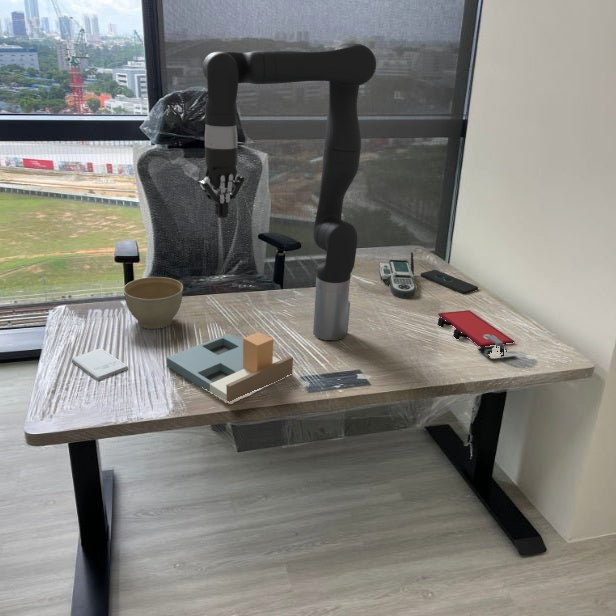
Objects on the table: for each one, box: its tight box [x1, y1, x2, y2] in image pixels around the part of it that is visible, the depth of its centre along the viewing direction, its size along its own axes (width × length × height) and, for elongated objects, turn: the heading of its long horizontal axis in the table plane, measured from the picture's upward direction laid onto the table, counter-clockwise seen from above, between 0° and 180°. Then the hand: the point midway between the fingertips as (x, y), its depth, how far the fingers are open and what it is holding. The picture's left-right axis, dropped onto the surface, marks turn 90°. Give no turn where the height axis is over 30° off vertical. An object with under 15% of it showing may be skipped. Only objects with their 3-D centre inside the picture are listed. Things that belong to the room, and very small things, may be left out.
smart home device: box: [419, 269, 479, 295], centre depth 211 cm, size 8×2×20 cm
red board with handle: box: [437, 309, 515, 359], centre depth 173 cm, size 30×3×15 cm
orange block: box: [242, 331, 274, 373], centre depth 143 cm, size 5×5×8 cm
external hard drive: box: [71, 347, 129, 381], centre depth 148 cm, size 2×8×12 cm
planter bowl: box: [123, 276, 184, 330], centre depth 169 cm, size 16×16×11 cm
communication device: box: [378, 252, 418, 299], centre depth 205 cm, size 12×24×9 cm, turn 179°
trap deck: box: [166, 333, 294, 402], centre depth 147 cm, size 20×24×5 cm
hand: (222, 217), depth 147 cm, fingers closed
